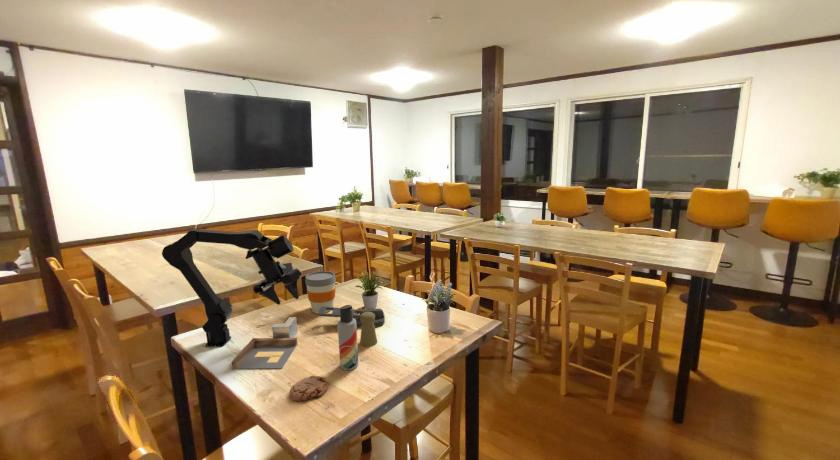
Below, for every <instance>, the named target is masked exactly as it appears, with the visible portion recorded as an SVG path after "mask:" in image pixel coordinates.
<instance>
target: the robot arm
mask: <svg viewBox="0 0 840 460" xmlns="http://www.w3.org/2000/svg"><path fill="white" fill-rule="evenodd" d="M196 243H210V244H221V245H222V244H224V245H233V246H236V247H238V248H240V249H244V250H247V252H246V256H245V259H246V260H248V259H251V258H252V259H253V260H254V263H255V264H256V265H257V268H258V269H259V271H257V272H258V274H259V275H261V274H262V275H263V278H264V279H261V280H260V281H258V282H257V283H256V284H254V285H253V288H252V290H253V292H254V293H255V294H258V295H260V296H263V297H264V298H266V299H268V300H270V301H272V302H273V303H275V304H276V305H280V304H281V299H280V298H279V296H278V294H277V292H276V291H275V285H277V284H279V283H282V284H283V285H284V286H283V287H284V288H285V289H286V290H287V291H288V292H289V294H291V296H292V297H293V298H295V300H299V298H300V297H299V296H300V295H299V290H298V281H299V279H300V277H301V276H302V274H303V273H302V272H301V271H300V270H299V268H294V267H293V265H292V262H291V261H290V262H286V263H280V261H275V259H280V258H282V257H284V256H286V255H289V254H291V253H293V252H294V247H293V244H292V242H291V240H289V238H287V237H286V235H285V234H281V235H279V236H278V237H276V238H273V239H272V238H270V237H268V236H265V235H263V234H262V233H261V231H260V230H259V229H246V230H241V231H228V230H214V229H201V228H194V229H190V230H188V232H186V234H184V235H183V236H182V237H180V238H179V239H178V240H176V241H174V242H172V243H170V244H168V245H165V246H164V247H163V248H162V251H161V256H162V258H163V259H164V261H166V262H167V263H168V264H169V266H171V267H173V268H175V269H177V270H178V271H179V272H180V273H181V274H182V276H183V278H185V280H186V281H187V283H188V284H189V286H190V287H191V288H192V289H193V291H194V293H195V294H196V295H197V296H198V298H199V299H200V301H201V303H203V305H204V310H205V315H206V318H207V321H206V322H205V323H204V324H203V325H202V327H201V328H202V329H203V331H204V333H205V335H206V343H205V344H204V347H223V346H225V345H226V344H227V343H228V342H229V341H230V340H231V339H232V336H230V335H231V333H230V328H229V327H228V324H227V323H226V322H227V321H228V320H229V318H230V317H231V316H232V313H233V308H232V306H233V304H231V303H230V302H229V300H228V298H227V297H226V296H225V297H223V298H221V297H220V296H218V295H217V293H216V292H215V291H214V290H213V288H212V287H211V285H210V284H209V283H208V281H207V279H206V278H205V277H204V275H203V273H202V272H201V271H200V269H199V268H198V267H197V266H196V263H195V262H194V257H193V253H192V251H191V248H192V247H193V246H194V245H195V244H196Z"/></svg>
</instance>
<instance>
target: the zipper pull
mask: <svg viewBox="0 0 840 460" xmlns="http://www.w3.org/2000/svg"><path fill="white" fill-rule="evenodd" d="M340 308H341V307H335V306H333V307H326V306H322V307H321V308H320V310H319V313H318V316H319V317H324V318H326V317H327V318H331V317H332V318H340ZM326 310H331V311H332V312H331V313H329V312H326V313H325V311H326ZM352 310H353V318H354V319H355V320H356V327H357V328H361V327H362V323H361V321H360V316H361V314H362V313H364V312H372V313H373V314H374V315H375V321H374V327H375V328H377V327H382V326H384V325H385V323H386V320H385V312H384V310H383V309H382V308H375V309H365V308H364V309H353V308H352Z"/></svg>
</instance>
